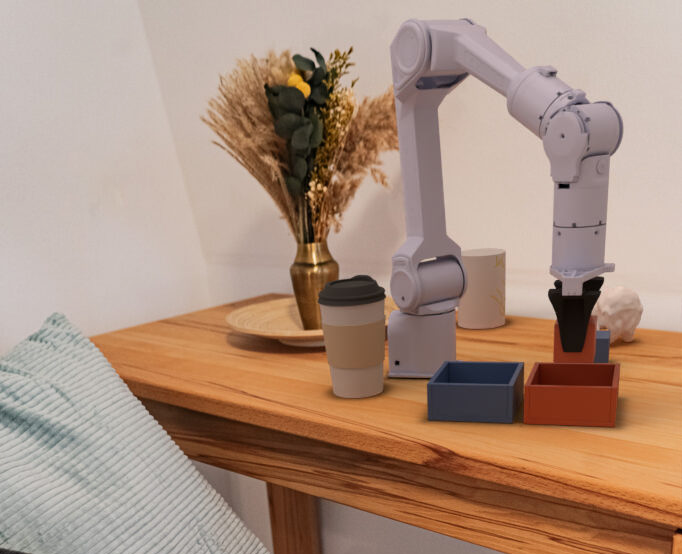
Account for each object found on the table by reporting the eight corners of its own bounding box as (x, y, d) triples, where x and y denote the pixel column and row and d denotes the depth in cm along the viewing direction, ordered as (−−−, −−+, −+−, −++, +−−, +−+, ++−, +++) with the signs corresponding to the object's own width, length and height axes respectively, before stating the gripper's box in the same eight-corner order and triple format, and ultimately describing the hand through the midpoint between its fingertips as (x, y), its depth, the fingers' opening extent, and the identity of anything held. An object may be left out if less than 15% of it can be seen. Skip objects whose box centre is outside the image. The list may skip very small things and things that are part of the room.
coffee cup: (369, 403, 110) (362, 287, 103) (312, 396, 114) (302, 285, 108) (402, 384, 116) (397, 274, 110) (347, 378, 121) (340, 272, 115)
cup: (504, 328, 142) (504, 255, 137) (455, 329, 144) (454, 257, 139) (506, 317, 149) (506, 247, 144) (460, 318, 151) (458, 249, 146)
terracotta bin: (523, 423, 98) (524, 385, 96) (534, 397, 107) (535, 362, 105) (614, 427, 95) (617, 388, 93) (617, 399, 104) (620, 363, 102)
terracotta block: (553, 362, 98) (554, 324, 96) (556, 352, 101) (558, 315, 99) (593, 363, 96) (595, 324, 94) (595, 353, 100) (597, 315, 98)
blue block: (573, 370, 117) (574, 338, 115) (575, 361, 120) (577, 330, 119) (607, 370, 115) (609, 338, 113) (608, 361, 119) (610, 330, 117)
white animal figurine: (608, 290, 121) (567, 285, 132) (608, 349, 124) (567, 340, 135) (647, 284, 122) (603, 280, 133) (646, 343, 125) (602, 335, 136)
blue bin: (427, 420, 102) (426, 383, 100) (445, 394, 111) (444, 360, 109) (512, 423, 99) (512, 385, 97) (523, 397, 108) (524, 361, 106)
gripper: (614, 232, 85) (607, 363, 91) (619, 214, 97) (612, 331, 103) (543, 234, 87) (540, 362, 93) (557, 217, 100) (553, 331, 105)
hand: (574, 346), depth 98 cm, fingers closed on terracotta block, 4 cm apart
